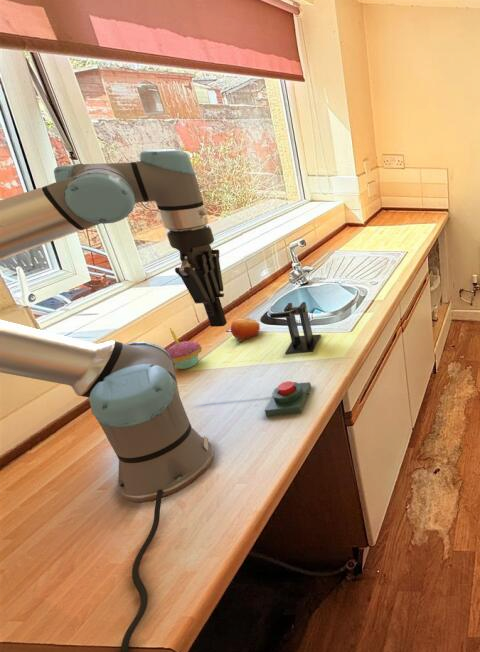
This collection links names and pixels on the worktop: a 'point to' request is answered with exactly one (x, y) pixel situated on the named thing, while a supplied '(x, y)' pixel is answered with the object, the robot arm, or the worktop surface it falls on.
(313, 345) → the bracket
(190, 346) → the cupcake
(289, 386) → the button
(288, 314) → the lever
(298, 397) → the button box
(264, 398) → the worktop surface
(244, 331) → the fruit
